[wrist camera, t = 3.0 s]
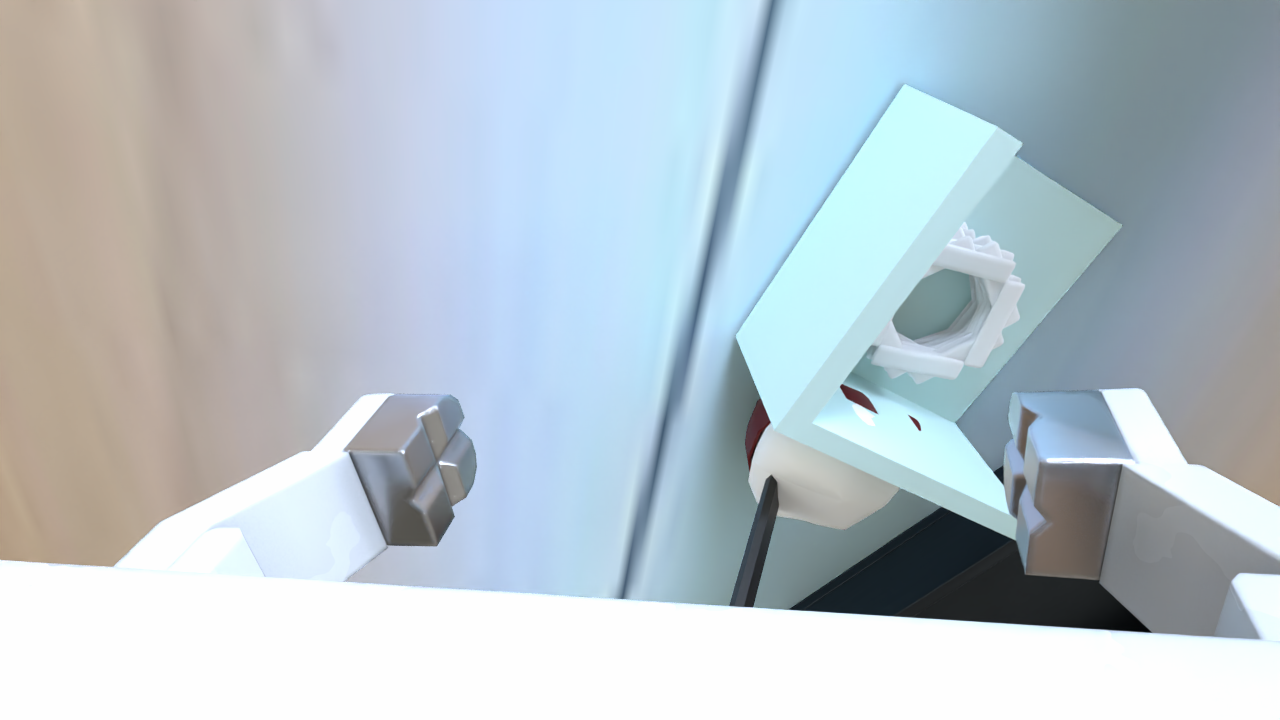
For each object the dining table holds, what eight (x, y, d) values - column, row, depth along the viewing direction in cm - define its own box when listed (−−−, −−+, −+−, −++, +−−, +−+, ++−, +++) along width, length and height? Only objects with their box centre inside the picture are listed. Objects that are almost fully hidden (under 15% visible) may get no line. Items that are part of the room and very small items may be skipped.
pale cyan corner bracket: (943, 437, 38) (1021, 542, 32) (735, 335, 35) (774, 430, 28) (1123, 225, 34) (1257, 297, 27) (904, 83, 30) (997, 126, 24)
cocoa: (907, 369, 36) (1044, 547, 26) (860, 478, 39) (967, 678, 29) (709, 336, 35) (769, 511, 24) (675, 452, 38) (715, 654, 27)
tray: (1038, 441, 39) (1085, 493, 35) (1179, 619, 46) (1231, 678, 42) (787, 610, 43) (806, 671, 40) (952, 749, 50) (981, 813, 47)
